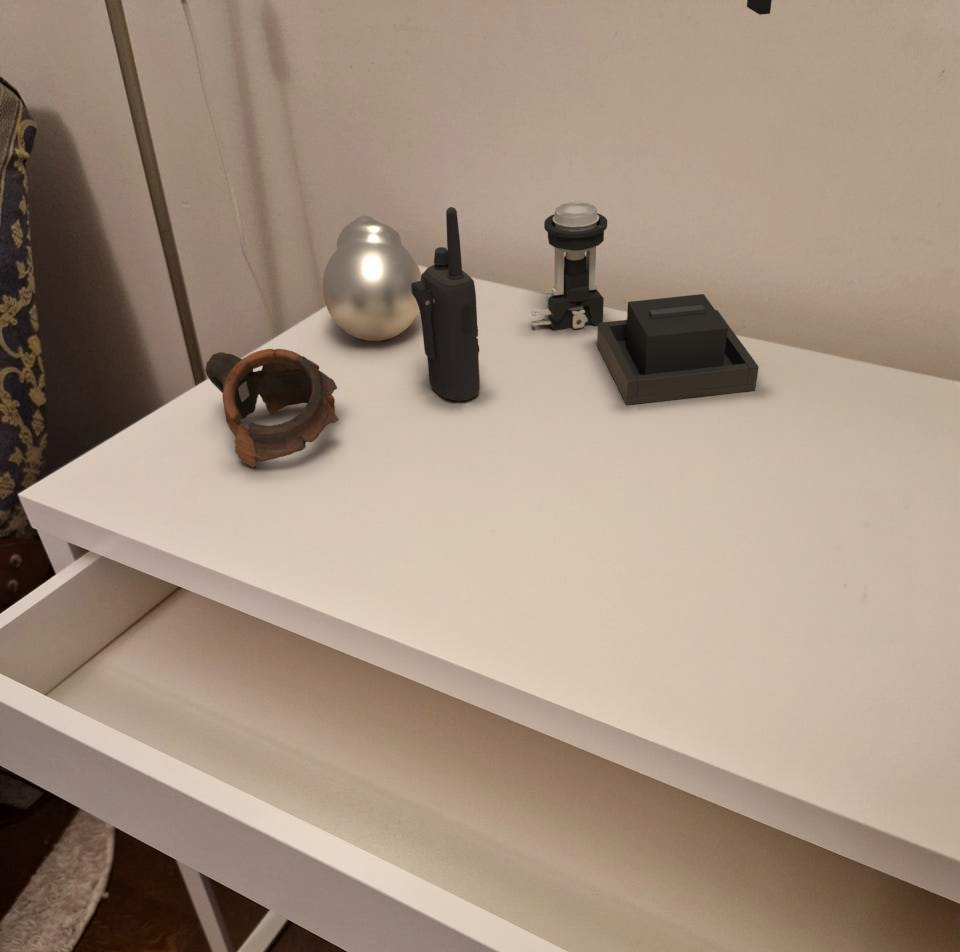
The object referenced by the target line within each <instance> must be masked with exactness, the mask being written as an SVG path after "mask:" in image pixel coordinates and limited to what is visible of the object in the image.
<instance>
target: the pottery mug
mask: <svg viewBox="0 0 960 952" xmlns="http://www.w3.org/2000/svg"><path fill="white" fill-rule="evenodd" d="M260 367H261V370H260V369H258V370H256V371H255V369H257V368H260ZM204 371H205V374H206V376H207V378H208V379H209V381H210V382H211V384H213V385H214V386H215V387H216V389H218V390H219V391H220V393H222V404H223V411H224V416H225V421H226V424H227V426H228V428H229V431H230V432H231V434H232V435H233V436H235V438H234V439H235V440H234V447H235V450H234V453H235V454H236V455H237V457H238V460H240V461H241V462H243V463H244V464H246V465H247V466H249V467H250V468H255V466H256V465H257V464H258V462H261V463H262V462H266V461H271V460H276V459H279V458H283V457H287V456H290V455H292V454H295V453H298V452H301V451H303V450H305V449H306V446H307V443H313V442H315V440H316V439H317V438H319V436H320V435H321V433H322V432H323V431H324V430H325V428H326V427H327V426H328V425H330V424H335V423H337V422H338V421H339V417H338V416H337V415H336V410H335V409H336V408H335V407H336V406H335V403H336V399H335V396H333V393H334V392H335V390H337V389H338V386H337V384H336V382H335V381H334V379H332V378H331V377H329V376H328V375H327V374H325V373H324V372H323V371H321V370H320V366H319V364H318V363H315V362H314V361H312V360H310V359H308V358H307V357H305V356H304V355H301V354H299V353H297V352H295V351H292V350H289V349H286V348H285V349H284V348H275V349H274V348H266V349H261V350H257V351H255V352H252V353H250V354H248V355H247V356H245V357H244V358H241V357H239V356H237V355H236V354H232V353H227V352H222V351H219V352H216V353H213V354H212V355H211V356H210V357H209V360H207V362H206V363H205V370H204ZM259 396H260V398H261V400H262V402H263V403H264V404H265V407H266V410H267V412H268V413H269V414H270V415H274V414H275V413H277V412H278V411H279V410H283V409H284V408H286V407H290V406H295V405H300V404H306V405H305V407H304V408H303V409H302V410H301V412H300V413H299V414H297V415H295V417H293V418H291V419H290V420H287V421H284V422H282V423H278V424H272V425H265V424H258V423H254V422H252V421H249V422H248V423H247V427H246V426H245V425H244V423H243V421H242V420H245V419H247V417H248V416H250V415H251V414H253V413H254V412H256V411H255V410H256V406H257V403H258V397H259Z"/></svg>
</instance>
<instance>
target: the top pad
mask: <svg viewBox="0 0 960 952" xmlns="http://www.w3.org/2000/svg"><path fill="white" fill-rule="evenodd" d="M716 310H717V309H715V307H714V306H713V305H712V304H711V301H710V300H709V299H708V298H707V296H706V295H705V293H699V294H690V295H680V296H672V297H671V296H670V297H661V298H651V299H642V300H641V299H640V300H633V301H632V300H631V301H628V302H627V311H626V312H627V313H626V320H627V328H626V348H627V350H628V352H629V353H630V355H631V357H632V359H633V361H634V363H635V365H636V367H637V369H638V371H639V372H640V374H641V375H647V374H656V373H664V372H673V371H682V370H691V369H700V368H709V367H718V366H723V363H724V355H725V347H726V340H727V332H728V327H727V326H726V324H725V323H724V322H723V320H722V319H721V317H720V316H719V315H718V313H717V312H716Z"/></svg>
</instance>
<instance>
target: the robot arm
mask: <svg viewBox="0 0 960 952" xmlns="http://www.w3.org/2000/svg"><path fill="white" fill-rule="evenodd" d="M772 1H773V0H746V8H747V9H749V10H751V11H752V12H755V13H756V14H757V15H758V16H760V15H761V16H762V15H770V14H771V10H772V9H771V8H772Z"/></svg>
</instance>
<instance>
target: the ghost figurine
mask: <svg viewBox="0 0 960 952" xmlns="http://www.w3.org/2000/svg"><path fill="white" fill-rule="evenodd" d="M409 251H410V250H408V249H407V248H405V246H404V245H403V241H402V237H401V235H400V233H399V231H397V230H396V229H394V228H392V226H390V225H388V224H385V223H382V222H379V221H378V220H376V219H374V218H373V217H371V216H368V215H362V216H361V215H360V216H358V217H357V218H355V219H353V221H351V222H349V223H348V224H346V225H345V226H344V227H343V228H342V229H341V231H340V232H339V234H338V237H337V240H336V249H335V251H334V252H333V253H332V254H331V256H330V257H329V259H328V261H327V263H326V265H325V268H324V271H323V276H322V283H321V284H322V296H323V300H324V304H325V307H326V309H327V311H328V313H329V315H330V317H331V318H332V320H333V321H334V322H335V323H336V324H337V326H338V327H339V328H341V329H342V330H343V331H344V332H345V333H347V334H348V335H350V336H352V337H354V338H357V339H360V340H364V341H368V342H379V341H381V342H382V341H385V340H386V341H387V340H389V339H392V338H395V337H396V336H398V335H400V334H401V333H403V332H405V331H406V330H407V329H408V328H409V327H410V326H411V325H412V324H413V323H414V321H415V319H416V318H417V316H418V315H419V313H420V310H419V307H418V304H417V301H416V299H415V297H414V296H413V294H412V290H411V284H412V283H413V282H417V281H421V275H422V273H421V269H420V267H419V265H418V262H417V261H416V259H415V258H414V256H413V255H412V254H411V252H409Z"/></svg>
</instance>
